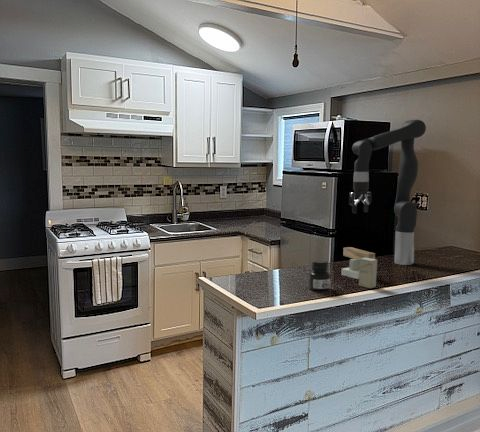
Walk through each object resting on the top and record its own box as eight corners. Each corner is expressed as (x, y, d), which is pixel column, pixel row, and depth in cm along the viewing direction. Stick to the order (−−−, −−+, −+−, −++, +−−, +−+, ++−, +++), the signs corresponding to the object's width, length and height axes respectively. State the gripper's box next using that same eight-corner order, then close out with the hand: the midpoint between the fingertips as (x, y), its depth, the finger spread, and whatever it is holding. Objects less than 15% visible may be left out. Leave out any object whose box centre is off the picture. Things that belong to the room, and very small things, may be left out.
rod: (349, 255, 228) (349, 247, 227) (374, 262, 211) (375, 253, 211) (343, 255, 226) (343, 247, 225) (367, 262, 210) (368, 254, 209)
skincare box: (358, 285, 200) (359, 258, 199) (364, 284, 203) (364, 257, 202) (371, 288, 196) (372, 260, 194) (376, 286, 199) (377, 259, 198)
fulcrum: (358, 271, 227) (358, 255, 226) (374, 275, 219) (375, 259, 218) (341, 274, 220) (341, 258, 219) (357, 279, 212) (357, 262, 211)
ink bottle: (315, 292, 190) (315, 264, 189) (304, 287, 198) (304, 260, 197) (334, 290, 194) (335, 262, 192) (323, 285, 202) (323, 258, 201)
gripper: (364, 180, 239) (363, 211, 241) (345, 180, 231) (344, 213, 233) (376, 180, 233) (375, 212, 235) (357, 181, 225) (356, 214, 227)
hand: (360, 212), depth 234 cm, fingers open, 8 cm apart
